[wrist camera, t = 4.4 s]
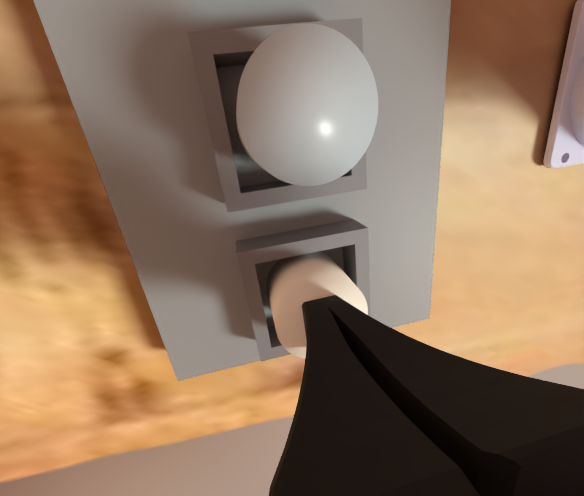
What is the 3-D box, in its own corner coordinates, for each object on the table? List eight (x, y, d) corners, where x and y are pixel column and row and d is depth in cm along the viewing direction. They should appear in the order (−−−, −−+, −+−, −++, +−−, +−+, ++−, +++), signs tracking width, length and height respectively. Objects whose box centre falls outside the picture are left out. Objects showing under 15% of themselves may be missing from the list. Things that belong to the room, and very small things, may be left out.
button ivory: (337, 242, 13) (366, 268, 10) (342, 307, 14) (368, 347, 11) (260, 257, 12) (268, 289, 9) (273, 323, 13) (283, 369, 11)
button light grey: (333, 56, 9) (377, 17, 6) (340, 167, 10) (379, 174, 8) (225, 67, 9) (221, 30, 6) (247, 182, 10) (252, 196, 7)
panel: (427, -245, 9) (528, -451, 6) (409, 300, 17) (448, 334, 14) (-35, -272, 7) (-238, -588, 4) (184, 353, 16) (171, 407, 12)
